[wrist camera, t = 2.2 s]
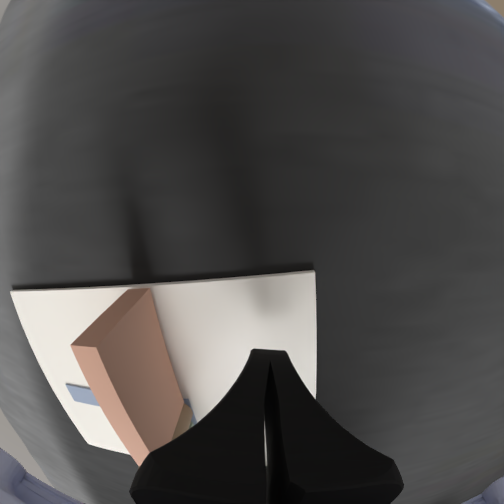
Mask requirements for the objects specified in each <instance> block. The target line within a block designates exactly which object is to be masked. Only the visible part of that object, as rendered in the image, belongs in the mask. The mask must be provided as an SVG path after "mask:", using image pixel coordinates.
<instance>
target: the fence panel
mask: <svg viewBox="0 0 504 504" xmlns="http://www.w3.org/2000/svg"><path fill="white" fill-rule="evenodd" d="M70 346H71V348H72V351H73V353H74V355H75V358H76V360H77V362H78V364H79V366H80V368H81V371H82V373H83V375H84V377H85V379H86V381H87V383H88V385H89V387H90V389H91V391H92V393H93V394H94V396H95V398H96V400H97V402H98V404H99V405H100V407H101V409H102V411H103V412H104V414H105V416H106V418H107V419H108V421H109V423H110V424H111V426H112V427H113V429H114V431H115V432H116V434H117V435H118V437H119V438H120V440H121V441H122V443H123V444H124V446H125V447H126V449H127V450H128V452H129V453H130V455H131V456H132V457H133V459H134V460H135V462H136V463H137V464H138V466H139V467H140V466H141V464H142V462H143V461H144V459H145V458H146V457H147V455H148V454H149V453H150V452H152V451H154V450H155V449H157V448H159V447H161V446H163V445H165V444H167V443H168V442H170V441H172V440H174V439H175V438H177V437H178V436H180V435H181V434H183V433H184V432H185V431H187V430H188V429H189V426H190V423H191V419H192V416H193V411H192V409H191V408H190V407H189V406H188V405H186V404H185V403H184V400H183V397H182V394H181V392H180V389H179V386H178V383H177V380H176V377H175V374H174V371H173V368H172V365H171V362H170V359H169V355H168V352H167V349H166V346H165V342H164V339H163V336H162V332H161V329H160V325H159V321H158V318H157V314H156V310H155V306H154V302H153V298H152V294H151V290H150V288H142V289H128V290H127V291H125V292H124V293H123V294H122V295H121V296H120V297H119V298H118V299H117V300H116V301H115V302H114V303H113V304H112V305H111V306H109V307H108V308H107V309H106V310H105V311H104V312H103V313H102V314H101V315H100V316H99V317H98V318H97V319H96V320H95V321H94V322H93V323H92V324H91V325H90V326H89V327H88V328H87V329H86V330H85V331H84V332H83V333H82V334H81V335H80V336H79V337H78V338H77V339H76V340H75V341H74V342H73V343H72V344H71V345H70ZM138 469H139V468H138Z"/></svg>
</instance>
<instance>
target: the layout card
mask: <svg viewBox="0 0 504 504" xmlns="http://www.w3.org/2000/svg"><path fill="white" fill-rule="evenodd" d="M142 288H150V290H151V294H152V298H153V302H154V306H155V310H156V314H157V318H158V321H159V325H160V329H161V332H162V336H163V339H164V342H165V346H166V349H167V352H168V355H169V359H170V362H171V365H172V368H173V371H174V374H175V377H176V380H177V383H178V386H179V389H180V392H181V394H182V397H183V400H184V403H185V404H186V405H188V406H189V407H190V408H191V409H192V411H193V416H192V419H191V422H193V423H194V425H195V424H196V423H198V422H199V421H200V420H201V419H202V418H203V417H204V416H206V415H207V414H208V413H209V412H210V411H211V410H212V409H213V408H214V407H215V406H216V405H217V404H218V403H219V402H220V400H221V399H222V398H223V397H224V396H225V395H226V393H227V392H228V391H229V389H230V388H231V387H232V385H233V384H234V383H235V381H236V380H237V378H238V376H239V375H240V373H241V372H242V370H243V368H244V366H245V364H246V362H247V360H248V358H249V355H250V351H251V350H252V349H254V348H255V349H269V350H285V351H286V352H287V353H288V355H289V358H290V360H291V362H292V364H293V366H294V368H295V369H296V371H297V373H298V375H299V376H300V378H301V379H302V381H303V382H304V384H305V386H306V387H307V388H308V390H309V391H310V393H311V394H312V395H313V397H314V398H315V399H316V365H317V328H316V284H315V271H314V270H309V271H298V272H288V273H277V274H266V275H255V276H243V277H231V278H219V279H206V280H193V281H179V282H165V283H150V284H134V285H117V286H98V287H78V288H55V289H27V290H12V291H10V293H11V296H12V299H13V302H14V305H15V308H16V310H17V313H18V316H19V318H20V321H21V324H22V326H23V329H24V331H25V333H26V336H27V338H28V341H29V343H30V345H31V347H32V349H33V352H34V354H35V356H36V358H37V360H38V362H39V364H40V366H41V368H42V370H43V372H44V374H45V376H46V378H47V380H48V382H49V383H50V385H51V387H52V389H53V391H54V392H55V394H56V396H57V397H58V399H59V401H60V402H61V404H62V406H63V407H64V409H65V411H66V412H67V414H68V415H69V417H70V418H71V420H72V421H73V423H74V424H75V426H76V427H77V429H78V430H79V432H80V433H81V435H82V436H83V437H84V439H85V440H86V441H87V443H88V444H90V445H94V446H97V447H101V448H105V449H108V450H112V451H117V452H121V453H125V454H130V453H129V452H128V450H127V449H126V447H125V446H124V444H123V443H122V441H121V440H120V438H119V437H118V435H117V434H116V432H115V431H114V429H113V427H112V426H111V424H110V423H109V421H108V419H107V418H106V416H105V414H104V412H103V411H102V409H101V407H100V405H99V404H98V402H97V400H96V398H95V396H94V394H93V393H92V391H91V389H90V387H89V385H88V383H87V381H86V379H85V377H84V375H83V373H82V371H81V368H80V366H79V364H78V362H77V360H76V358H75V355H74V353H73V351H72V348H71V346H70V345H71V344H72V343H73V342H74V341H75V340H76V339H77V338H78V337H79V336H80V335H81V334H82V333H83V332H84V331H85V330H86V329H87V328H88V327H89V326H90V325H91V324H92V323H93V322H94V321H95V320H96V319H97V318H98V317H99V316H100V315H101V314H102V313H103V312H104V311H105V310H106V309H107V308H108V307H109V306H111V305H112V304H113V303H114V302H115V301H116V300H117V299H118V298H119V297H120V296H121V295H122V294H123V293H124V292H125V291H127V290H128V289H142ZM264 435H265V421H264ZM265 463H266V466H267V449H266V435H265Z"/></svg>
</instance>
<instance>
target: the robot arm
mask: <svg viewBox="0 0 504 504" xmlns="http://www.w3.org/2000/svg"><path fill="white" fill-rule="evenodd" d="M264 421H265V435H266V449H267V470H266V463H265V435H264ZM403 487H404V484H403V481H402V478H401V475H400V472H399V470H398V468H397V466H396V464H395V462H394V460H393V459H391V458H389V457H387V456H385V455H383V454H382V453H380V452H378V451H376V450H374V449H372V448H370V447H369V446H367V445H366V444H364V443H363V442H361V441H360V440H358V439H357V438H355V437H354V436H353V435H351V434H350V433H349V432H348V431H346V430H345V429H344V428H343V427H342V426H340V425H339V424H338V423H337V422H336V421H335V420H334V419H333V418H332V417H331V416H330V415H329V414H328V413H327V412H326V411H325V410H324V409H323V408H322V407H321V405H320V404H319V403H318V402H317V401H316V399H315V398H314V397H313V395H312V394H311V393H310V391H309V390H308V388H307V387H306V386H305V384H304V382H303V381H302V379H301V378H300V376H299V375H298V373H297V371H296V369H295V368H294V366H293V364H292V362H291V360H290V358H289V355H288V353H287V352H286V351H285V350H269V349H255V348H254V349H252V350H251V351H250V355H249V358H248V360H247V362H246V364H245V366H244V368H243V370H242V372H241V373H240V375H239V376H238V378H237V380H236V381H235V383H234V384H233V385H232V387H231V388H230V389H229V391H228V392H227V393H226V395H225V396H224V397H223V398H222V399H221V400H220V402H219V403H218V404H217V405H216V406H215V407H214V408H213V409H212V410H211V411H210V412H209V413H208V414H207V415H206V416H204V417H203V418H202V419H201V420H200V421H199V422H198V423H196V424H195V425H194V426H192V427H191V428H190V429H188V430H187V431H185V432H184V433H183V434H181V435H180V436H178V437H177V438H175V439H174V440H172V441H170V442H168V443H167V444H165V445H163V446H161V447H159V448H157V449H155V450H154V451H152V452H150V453H149V454H148V455H147V457H146V458H145V459H144V461H143V462H142V464H141V466H140V467H139V469H138V471H137V472H136V475H135V477H134V480H133V482H132V485H131V488H130V491H129V492H130V495H131V497H132V498H133V500H134V501H135V503H136V504H390V503H391V502H392V501H393V500H394V499H395V498H396V497H397V496H398V495H399V494H400V493H401V491H402V490H403ZM0 504H85V503H82V502H80V501H78V500H76V499H74V498H72V497H70V496H68V495H66V494H64V493H62V492H60V491H58V490H56V489H55V488H53V487H51V486H49V485H47V484H46V483H44V482H42V481H41V480H39V479H37V478H36V477H34V476H32V475H31V474H29V473H28V472H26V470H25V469H24V467H23V466H22V465H21V464H20V463H19V462H18V461H17V460H16V459H15V458H14V457H12V456H11V455H10V454H8V453H7V452H5V451H4V450H3V449H1V448H0ZM461 504H504V476H503V477H501V478H499V479H498V480H496V481H495V482H493V483H492V484H491V485H490V486H488V487H487V488H486V489H485V490H484V491H483V493H481V494H480V495H478V496H476V497H474V498H472V499H470V500H468V501H466V502H463V503H461Z"/></svg>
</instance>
